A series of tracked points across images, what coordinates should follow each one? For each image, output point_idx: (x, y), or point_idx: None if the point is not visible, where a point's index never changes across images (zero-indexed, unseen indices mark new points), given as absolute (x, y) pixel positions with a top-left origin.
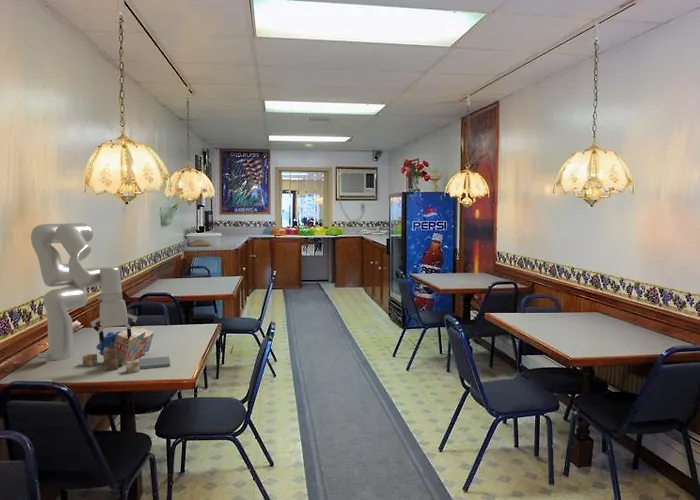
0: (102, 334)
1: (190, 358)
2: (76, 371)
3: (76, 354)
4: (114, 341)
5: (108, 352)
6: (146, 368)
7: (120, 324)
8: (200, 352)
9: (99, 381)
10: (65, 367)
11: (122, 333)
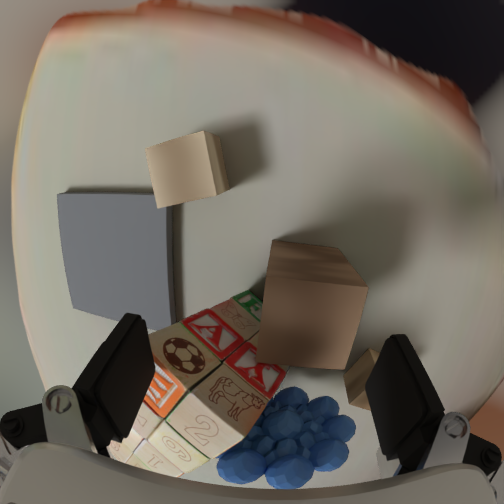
0: (420, 395)
1: (31, 274)
2: (435, 290)
3: (366, 457)
4: (269, 437)
5: (330, 279)
6: (139, 193)
7: (122, 483)
8: (29, 324)
9: (361, 63)
10: (443, 356)
11: (201, 445)
